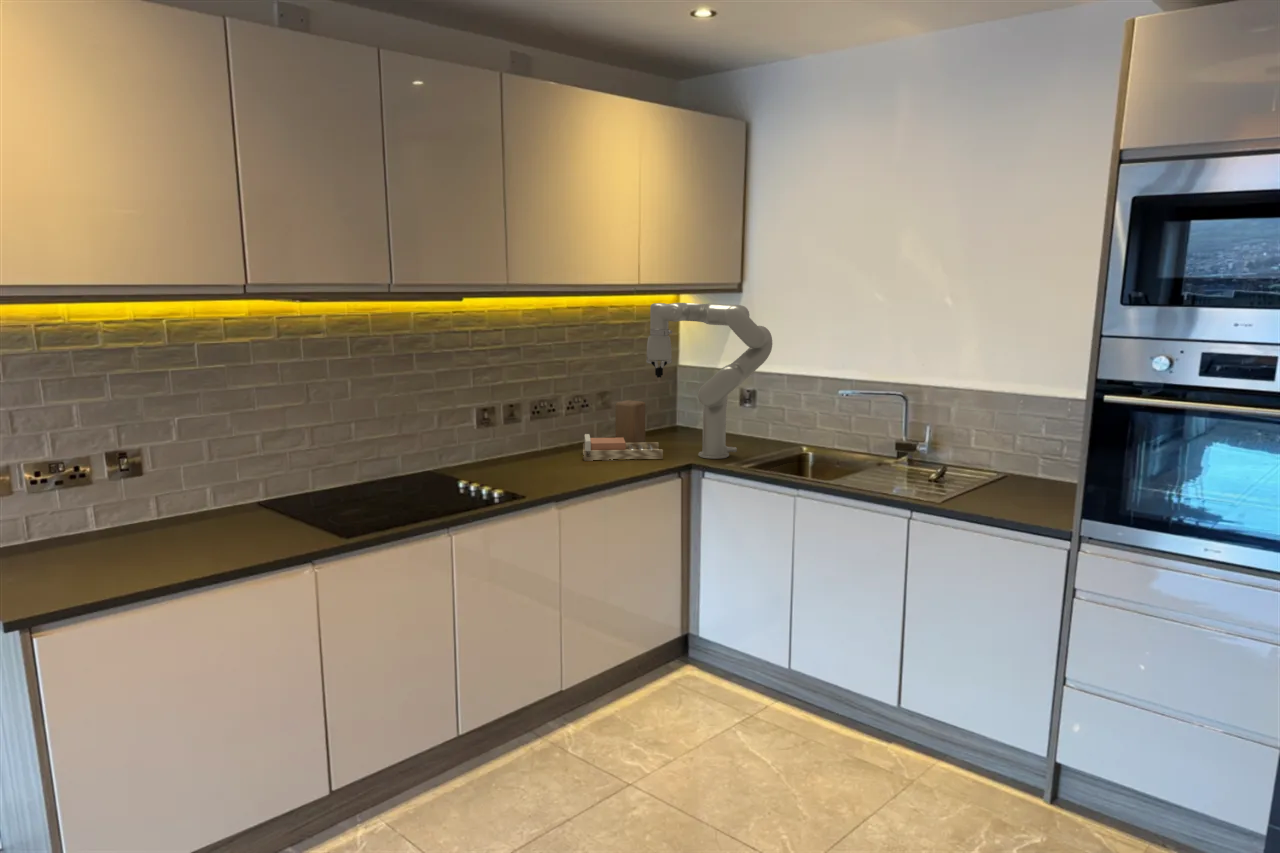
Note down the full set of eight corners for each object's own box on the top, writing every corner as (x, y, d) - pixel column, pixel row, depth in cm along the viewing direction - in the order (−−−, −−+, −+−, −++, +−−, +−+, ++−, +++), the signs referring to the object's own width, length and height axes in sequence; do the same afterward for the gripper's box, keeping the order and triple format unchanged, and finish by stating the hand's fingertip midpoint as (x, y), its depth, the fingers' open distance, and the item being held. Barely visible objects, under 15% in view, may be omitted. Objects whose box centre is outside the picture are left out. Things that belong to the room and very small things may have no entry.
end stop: (589, 449, 349) (589, 434, 347) (590, 457, 333) (590, 441, 332) (584, 449, 348) (584, 434, 347) (585, 457, 333) (585, 441, 332)
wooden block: (646, 446, 363) (646, 401, 359) (633, 450, 354) (634, 404, 351) (627, 443, 368) (627, 399, 365) (614, 447, 360) (614, 402, 356)
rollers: (651, 448, 350) (651, 444, 349) (655, 455, 336) (655, 450, 336) (590, 449, 347) (590, 445, 347) (591, 456, 334) (591, 451, 334)
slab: (623, 444, 347) (623, 437, 347) (625, 450, 336) (625, 442, 335) (590, 444, 346) (590, 437, 346) (591, 450, 334) (591, 443, 334)
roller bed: (658, 451, 351) (658, 442, 351) (662, 459, 336) (662, 449, 335) (583, 452, 349) (583, 443, 348) (584, 460, 333) (584, 451, 332)
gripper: (675, 332, 346) (675, 376, 349) (640, 332, 345) (640, 376, 348) (678, 333, 339) (677, 378, 342) (642, 333, 337) (642, 378, 341)
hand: (659, 377), depth 345 cm, fingers closed
